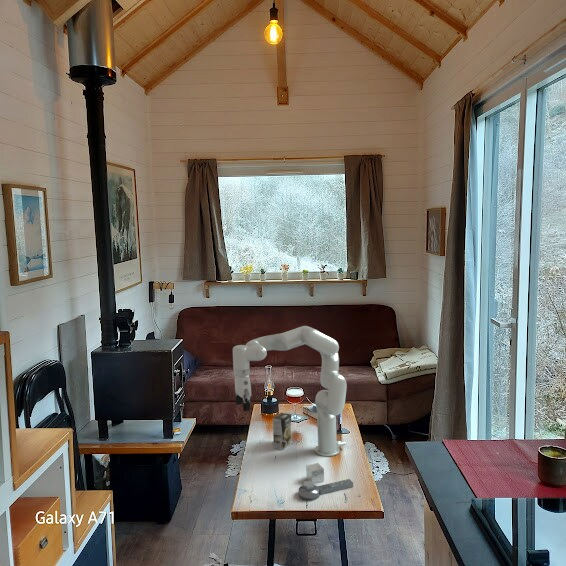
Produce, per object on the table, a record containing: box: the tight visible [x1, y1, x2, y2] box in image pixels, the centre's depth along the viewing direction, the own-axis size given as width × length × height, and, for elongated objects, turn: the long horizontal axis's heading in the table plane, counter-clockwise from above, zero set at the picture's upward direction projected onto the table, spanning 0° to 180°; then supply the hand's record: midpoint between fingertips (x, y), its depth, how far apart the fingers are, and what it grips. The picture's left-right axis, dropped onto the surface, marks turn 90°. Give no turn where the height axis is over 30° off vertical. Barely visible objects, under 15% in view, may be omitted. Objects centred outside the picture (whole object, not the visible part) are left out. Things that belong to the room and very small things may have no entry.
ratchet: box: [298, 478, 354, 501], centre depth 230 cm, size 25×9×6 cm, turn 111°
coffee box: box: [272, 412, 293, 451], centre depth 277 cm, size 9×6×16 cm
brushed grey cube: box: [305, 462, 325, 484], centre depth 241 cm, size 6×6×6 cm
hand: (243, 407), depth 249 cm, fingers open, 9 cm apart
